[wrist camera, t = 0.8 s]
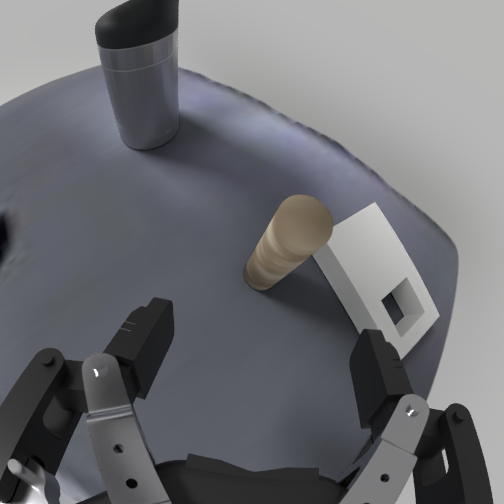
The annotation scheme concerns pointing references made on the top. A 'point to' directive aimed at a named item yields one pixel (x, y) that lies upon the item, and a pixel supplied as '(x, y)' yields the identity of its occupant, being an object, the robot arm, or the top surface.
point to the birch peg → (288, 240)
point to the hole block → (376, 278)
